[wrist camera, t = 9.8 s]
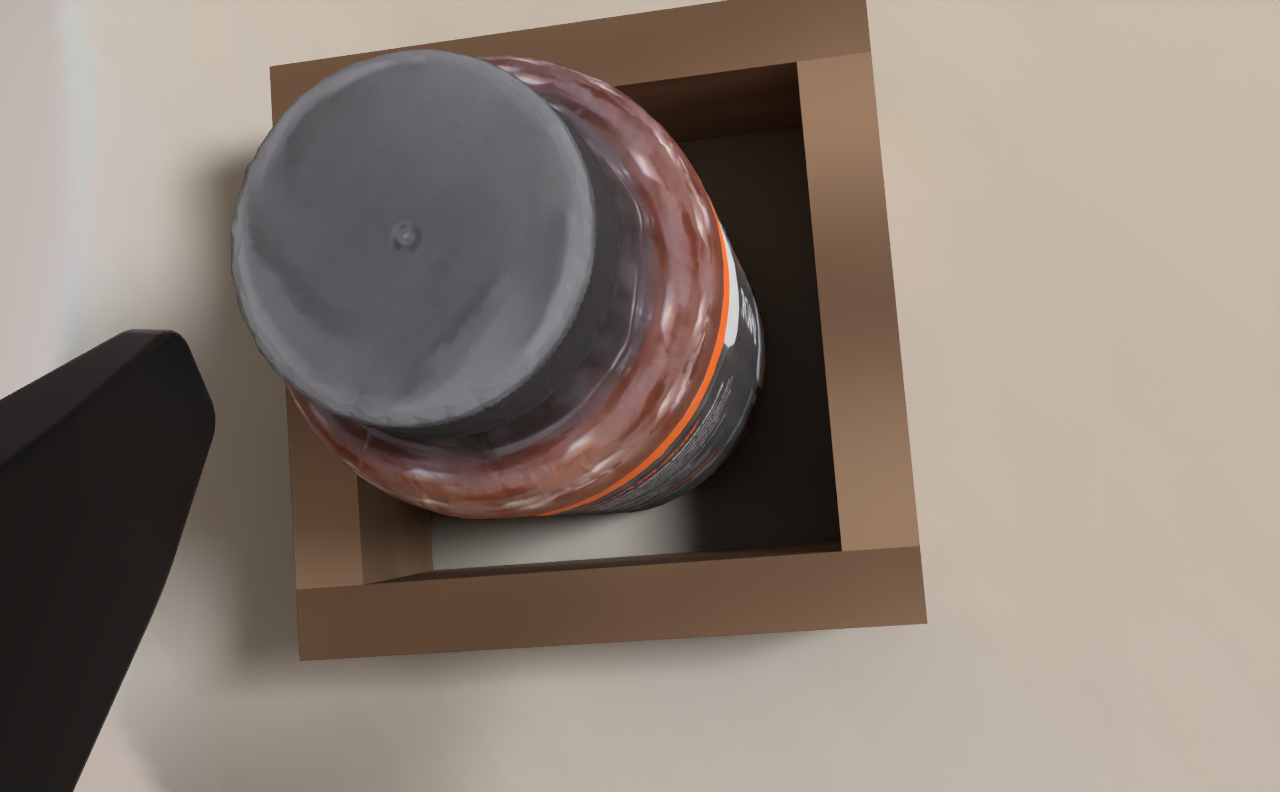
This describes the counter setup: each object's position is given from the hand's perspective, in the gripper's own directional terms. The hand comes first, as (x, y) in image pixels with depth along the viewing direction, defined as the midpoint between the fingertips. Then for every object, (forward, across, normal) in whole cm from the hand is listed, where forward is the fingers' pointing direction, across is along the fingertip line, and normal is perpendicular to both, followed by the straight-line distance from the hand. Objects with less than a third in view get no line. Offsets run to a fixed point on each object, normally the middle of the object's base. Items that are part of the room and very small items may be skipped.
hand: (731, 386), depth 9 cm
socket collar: (+11, +4, +8) cm, 14 cm away
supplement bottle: (+11, +4, +8) cm, 14 cm away
